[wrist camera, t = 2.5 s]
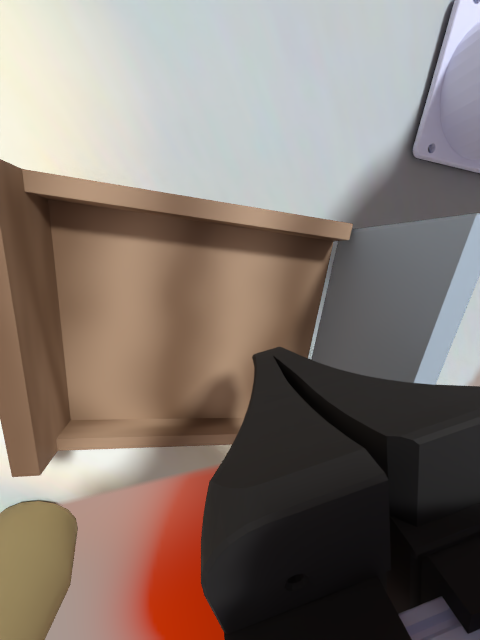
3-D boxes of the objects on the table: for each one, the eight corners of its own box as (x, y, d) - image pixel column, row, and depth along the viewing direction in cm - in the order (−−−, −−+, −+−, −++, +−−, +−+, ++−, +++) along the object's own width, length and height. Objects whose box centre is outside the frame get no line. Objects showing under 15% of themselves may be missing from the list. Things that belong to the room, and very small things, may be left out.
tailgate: (361, 234, 14) (512, 220, 7) (314, 423, 17) (383, 529, 11) (340, 230, 13) (477, 212, 7) (297, 423, 17) (357, 533, 10)
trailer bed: (319, 229, 15) (373, 220, 10) (283, 408, 19) (311, 460, 14) (44, 186, 12) (-56, 146, 7) (67, 409, 16) (12, 476, 11)
